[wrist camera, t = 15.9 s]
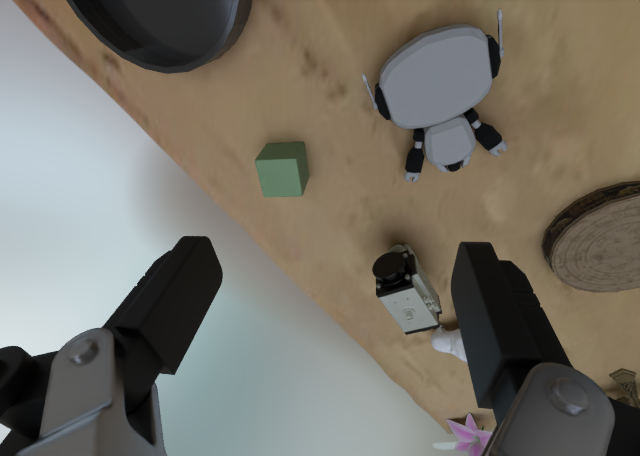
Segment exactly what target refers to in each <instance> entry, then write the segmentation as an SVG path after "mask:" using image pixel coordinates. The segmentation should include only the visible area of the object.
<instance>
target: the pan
mask: <svg viewBox="0 0 640 456" xmlns="http://www.w3.org/2000/svg"><path fill="white" fill-rule="evenodd" d="M67 2H68V3H69V5H70V6H71V8H72V9H73V11H74V12H75V14H76V15H77V17H78V18H79V19H80V20H81V21H82V22H83V23H84V24H85V25H86V26H87V28H88V29H89V30H90V31H91V32H92V33H93V34H94V35H95V36H96V37H97V38H98V39H99V40H100V41H101V42H102V43H103V44H105V45H106V46H107V47H109V48H110V49H111V50H112V51H114V52H115V53H116V54H118V55H119V56H120V57H122V58H123V59H126V60H128V61H130V62H132V63H134V64H136V65H138V66H140V67H142V68H144V69H148V70H153V71H157V72H162V73H179V72H188V71H191V70H193V69H195V68H198V67H200V66H202V65H205V64H207V63H209V62H211V61H213V60H215V59H218V58H220V57H221V56H222V55H223V54H224V53H225V52H227V51H228V50H229V49H230V48H231V47H232V46H233V45H234V44H235V42H236V41H237V39H238V38H239V36H240V35H241V33H242V31H243V29H244V27H245V25H246V22H247V20H248V16H249V13H250V10H251V5H252V0H67Z"/></svg>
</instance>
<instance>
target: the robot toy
mask: <svg viewBox="0 0 640 456" xmlns="http://www.w3.org/2000/svg"><path fill="white" fill-rule="evenodd" d="M497 19H498V39H499V45H498V44H497V42H496V41H495V39H494V38H493V37H492V36H490V35H485V34H484V33H483V32H482V31H481V30H480V29H479V28H477V27H476V26H472V25H467V24H454V25H449V26H444V27H441V28H437V29H434V30H431V31H428V32H424V33H421V34H420V35H418V36H417V37H415V38H414V39H412V40H411V41H409V42H408V43H406V44H405V45H403V46H402V47H401V48H399V49H398V50H397V51H396V52H395V53H393V54H392V55H391V56H390V57H389V58H388V59H387V60H386V62H385V64H384V65H383V67H382V68H381V70H380V78H379V82H378V83H377V84H376V85H375V100H374V98H373V95H372V93H371V90H370V88H369V85H368V82H367V79H366V76H365V74H364V73H362V77H363V80H364V82H365V84H366V86H367V89H368V91H369V94H370V96H371V99H372V101H373V102H372V103H373V106H374V109H378V110H379V112H380V114H381V115H382V116H383V117H384V118H385V119H386V120H392V121H393V122H394V123H395V124H396V125H397V126H398V127H402V128H406V129H415V130H414V136H413V139H414V140H415V141H416V142H415V146H414V147H413V148H412V149H411V150H410V152H409V153H408V156H407V161H406V167H405V169H406V173H405V174H404V179H405V180H406V181H407V182H410V177H413V178H412V182H416V181H417V180H418V178H419V176H420V174H419V173H421V169H422V165H423V160H424V154H423V150H422V148H421V146H422V142H423V144H424V150H425V153H426V156H427V159H428V160H429V161H430V162H431V164H434V165H436V166H437V167H438V168H439V170H440V171H441V172H449V171H452V172H453V171H457V170H458V169H460V164H461V166H462V168H463V167H464V166H466V165H467V164H468V163H469V161H470V157H471V153H472V152H473V151H474V149H475V144H476V140H475V137H474V134H473V131H472V129H471V127H470V125H472V126H473V127H474V129H475V136H476V139H477V141H478V142H479V143H480V144H481V145H482V146H483V147H484V148H485V149H487V150H488V151H489V153H490V154H492V155H494V156H498V155H500V154H501V153H500V152H499V151H498V149H500V148H502V150H503V152H504V151H506V149H507V143H506V141H503V140H502V137H501V135H500V134H499V133H498V132H497V131H496V130H495V129H494V128H493V126H491V125H488V124H485V123H480V122H479V121H478V118H479V117H478V114H477V112H476V111H475V110H474V109H473V108H472V107H473V106H475V105H476V104H477V103H479V102H480V101H481V100H482V99H483V98H484V97H485V96H486V94H487V93H488V92H489V90H490V87H491V83H492V80H493V78H495V77H496V76H497V75H498V71H499V67H500V63H501V60H500V57H502V56H504V49H503V48H502V12H501V10H500V8H499V10H498V12H497ZM446 165H447V166H446ZM447 167H448V169H449V171H448V169H447Z"/></svg>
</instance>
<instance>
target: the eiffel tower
mask: <svg viewBox="0 0 640 456" xmlns="http://www.w3.org/2000/svg"><path fill="white" fill-rule="evenodd" d="M634 375H636V373H635V372H631V371H628V370H625V369H620V370H618V371H616V372H615V373H613V374H611V375H609V376H610V377H612V378H613V379H614V380H616V381H617V382H618V384H619V385H620V387H621V388H622V389H623V391H624V392H625V393H626V395H627V396H628V398H629V399H627V398H623V397H622V398H620V399H618V400H617V401H619V402H622V403H624V404H627V405H630V406H633V407H635V408H638V409H640V399H638V395H637V388H636V382H635V379H634V378H635V376H634Z"/></svg>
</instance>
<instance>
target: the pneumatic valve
mask: <svg viewBox="0 0 640 456" xmlns="http://www.w3.org/2000/svg"><path fill="white" fill-rule="evenodd" d="M372 271H373V274H374V275H375V277H376V295H377V296H378V298H379V299H380V301H381V302H382V303H383V305H384V306H385V307H386V309H387V310H388V311H389V313H390V314H391V315H392V317H393V318H394V319H395V321H396V322H397V323H398V325H399V326H400V327H401V329H402V330H403V331H404V333H405V334H406V335H408V334H412V333H416V332H421V331H427V330H430V329H434V328H438V327H440V324H439V314H442V310H441V305H440V300H439V296H438V294H437V293H436V291H435V289H434V288H433V286H432V284H431V283H430V281H429V279H428V278H427V276H426V274H425V273H424V271H423V269H422V268H421V266H420V264H419V263H418V258H417V257H416V255H415V253H414V252H413V250H412V248H411V247H410V245H409V244H407V243H406V244H404V245H403V246H402V245H395V246H393V247H392V248H391V249H389V250H388V253H386V254H384V255H382V256H381V257H379V258H378V259H377V260H376V261H375V263H374V265H373V268H372Z"/></svg>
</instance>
